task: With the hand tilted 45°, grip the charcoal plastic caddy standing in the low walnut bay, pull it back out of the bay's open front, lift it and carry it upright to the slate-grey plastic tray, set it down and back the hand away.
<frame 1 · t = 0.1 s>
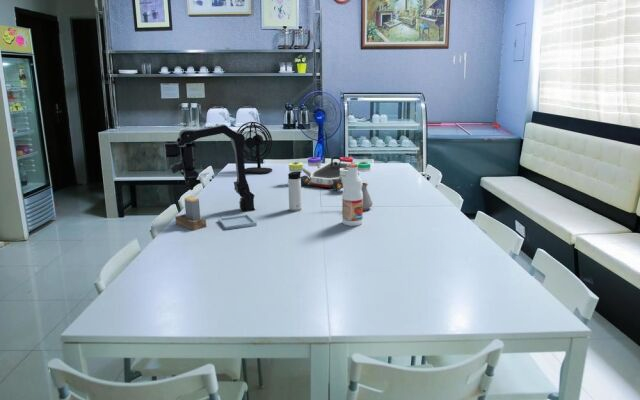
hand: (189, 188, 251), 15 cm above the table, tool pointing down, fingers open, 9 cm apart
slate tray: (237, 223, 243), on the table
charcoal caddy: (193, 225, 242), on the table
cart: (334, 183, 322), on the table
walnut bay: (193, 224, 242), on the table
travel mug: (295, 210, 264), on the table
desk fan: (256, 172, 357), on the table
coffee pot: (351, 208, 265), on the table
fruit juice: (352, 223, 240), on the table
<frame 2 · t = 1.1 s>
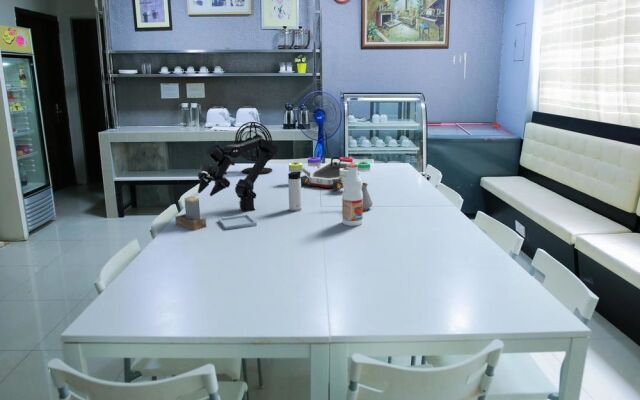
hand: (204, 194, 244), 13 cm above the table, tool tilted 45°, fingers open, 9 cm apart
nothing on the table moved.
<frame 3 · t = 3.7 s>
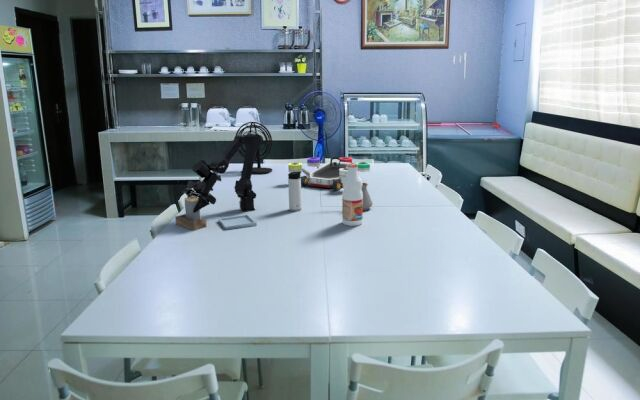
hand: (190, 211, 239), 7 cm above the table, tool tilted 45°, fingers closed on charcoal caddy, 5 cm apart
charcoal caddy: (193, 225, 242), on the table, touching gripper
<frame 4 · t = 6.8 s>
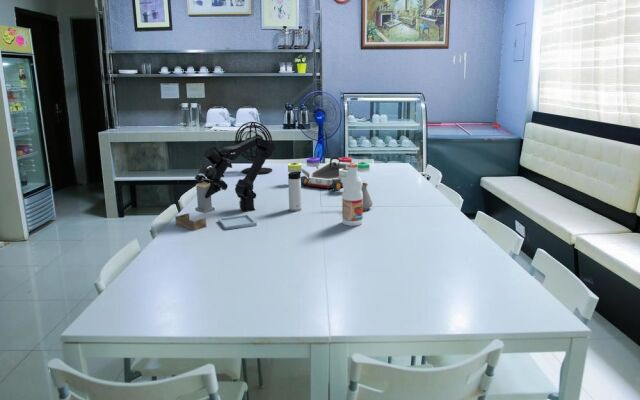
hand: (201, 196, 243), 12 cm above the table, tool tilted 45°, fingers closed on charcoal caddy, 5 cm apart
charcoal caddy: (205, 210, 245), point 5 cm above the table, touching gripper
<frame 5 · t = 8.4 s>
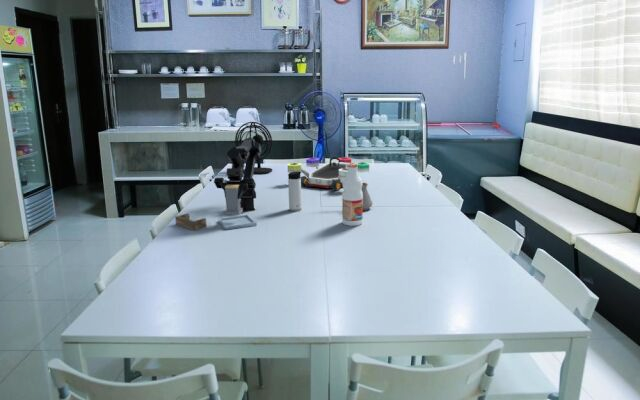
hand: (232, 198, 238), 12 cm above the table, tool tilted 45°, fingers closed on charcoal caddy, 5 cm apart
charcoal caddy: (233, 212, 241), point 5 cm above the table, touching gripper
when the fingers open (9 cm above the table, at t = 10.0 s): charcoal caddy stays where it is, resting on slate tray.
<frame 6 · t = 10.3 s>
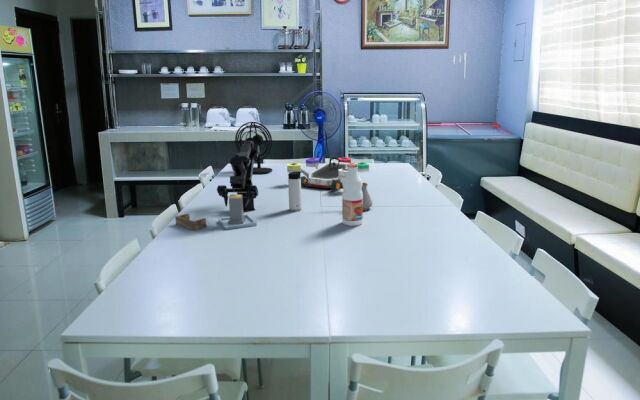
hand: (235, 206, 239), 9 cm above the table, tool tilted 45°, fingers open, 9 cm apart
charcoal caddy: (237, 222, 243), point 1 cm above the table, touching slate tray
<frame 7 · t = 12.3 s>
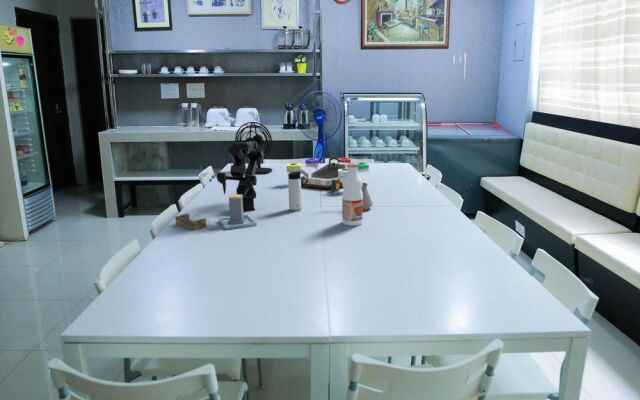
hand: (234, 194, 244), 13 cm above the table, tool tilted 40°, fingers open, 9 cm apart
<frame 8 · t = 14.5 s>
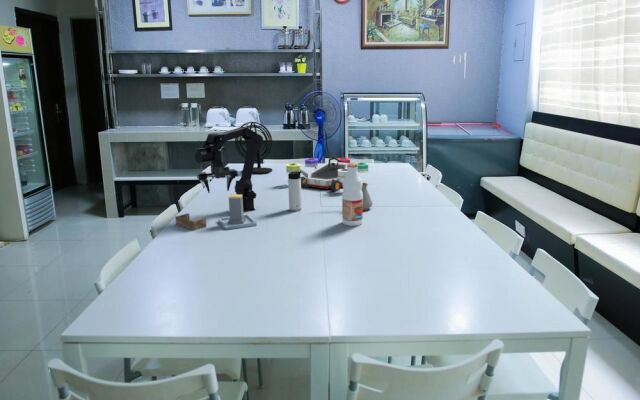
hand: (218, 191, 249), 13 cm above the table, tool pointing down, fingers open, 9 cm apart
at the end: charcoal caddy inside the target area on the slate tray (0.1 cm from its centre), point 0.6 cm above the slate tray's base; charcoal caddy tilted 0°; the gripper is holding nothing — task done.
